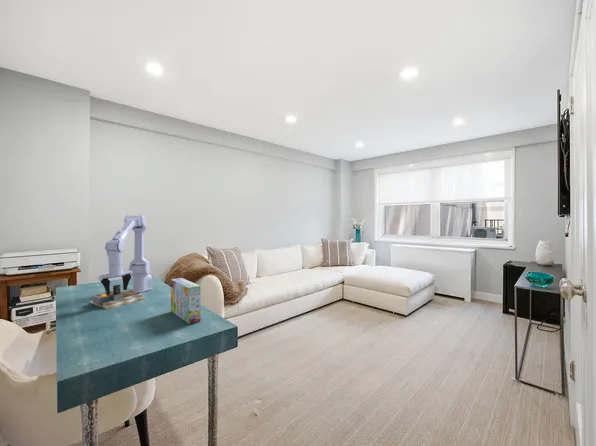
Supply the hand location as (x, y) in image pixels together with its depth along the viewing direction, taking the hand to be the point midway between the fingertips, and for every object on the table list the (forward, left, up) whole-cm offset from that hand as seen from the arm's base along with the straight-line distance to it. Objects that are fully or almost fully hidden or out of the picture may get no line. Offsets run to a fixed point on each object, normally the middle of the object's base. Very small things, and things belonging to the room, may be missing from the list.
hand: (116, 291), depth 139 cm
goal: (+3, -7, -5) cm, 9 cm away
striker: (0, -4, -5) cm, 6 cm away
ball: (+3, -7, -3) cm, 8 cm away
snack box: (-9, +43, -7) cm, 44 cm away
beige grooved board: (-3, -6, -6) cm, 9 cm away
